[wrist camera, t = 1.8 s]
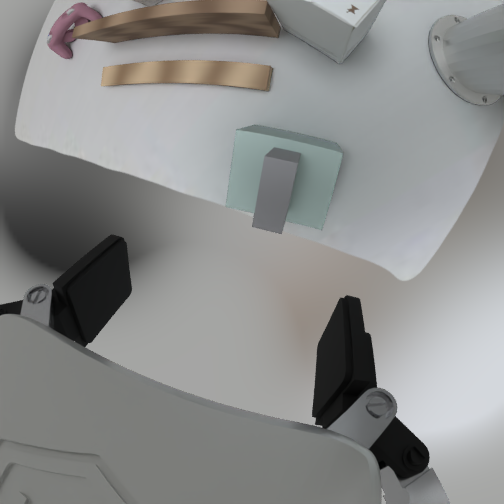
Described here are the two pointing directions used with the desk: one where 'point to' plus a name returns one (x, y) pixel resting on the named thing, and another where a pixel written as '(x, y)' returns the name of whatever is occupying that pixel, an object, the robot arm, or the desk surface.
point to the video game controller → (60, 28)
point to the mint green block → (282, 177)
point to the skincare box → (328, 22)
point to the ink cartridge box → (148, 2)
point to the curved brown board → (186, 22)
